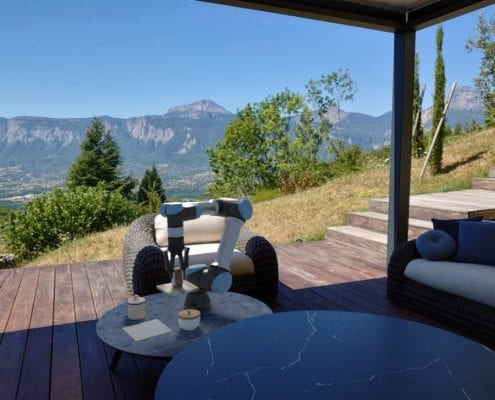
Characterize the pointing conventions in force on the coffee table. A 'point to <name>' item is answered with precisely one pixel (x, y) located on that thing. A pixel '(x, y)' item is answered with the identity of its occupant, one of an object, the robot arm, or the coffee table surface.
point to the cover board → (178, 290)
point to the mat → (146, 329)
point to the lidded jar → (189, 319)
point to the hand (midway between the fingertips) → (177, 283)
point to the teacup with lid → (136, 308)
